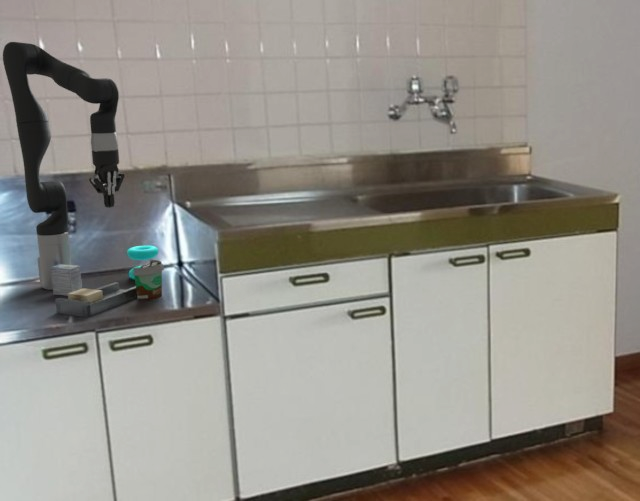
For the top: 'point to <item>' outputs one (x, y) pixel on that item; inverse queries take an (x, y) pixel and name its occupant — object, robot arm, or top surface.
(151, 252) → the donuts
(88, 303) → the chute
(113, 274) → the top surface
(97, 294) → the beech block
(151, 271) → the food container
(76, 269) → the medicine box
